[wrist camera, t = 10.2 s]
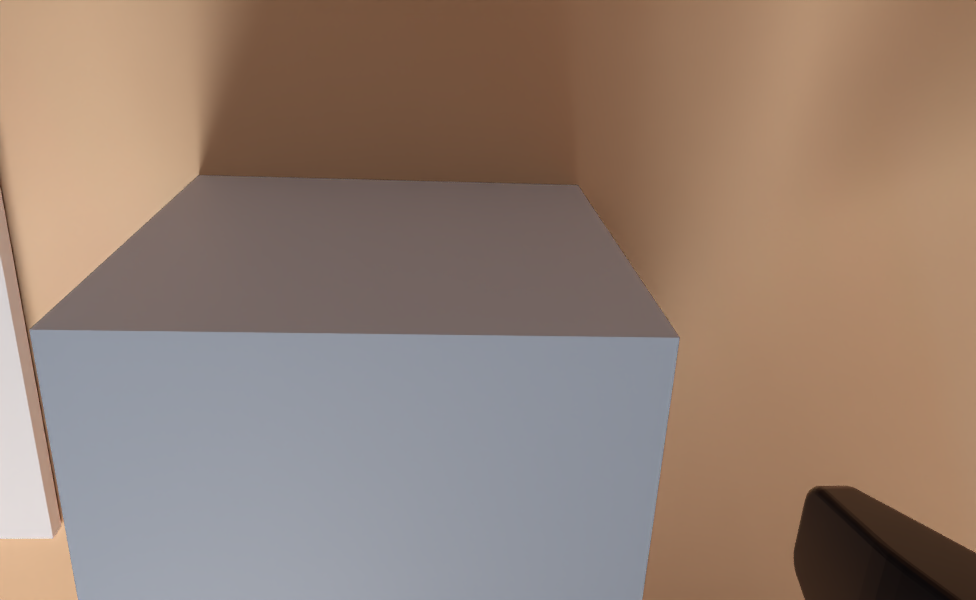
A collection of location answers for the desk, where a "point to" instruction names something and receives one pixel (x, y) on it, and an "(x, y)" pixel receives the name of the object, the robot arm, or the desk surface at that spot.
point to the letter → (21, 420)
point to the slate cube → (359, 397)
